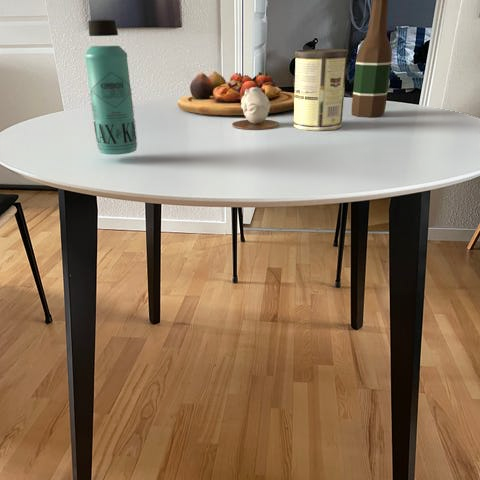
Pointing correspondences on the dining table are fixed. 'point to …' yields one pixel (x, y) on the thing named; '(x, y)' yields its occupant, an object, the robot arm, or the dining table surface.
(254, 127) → the coaster
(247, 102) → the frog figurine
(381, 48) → the beer bottle
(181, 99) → the wooden plate
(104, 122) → the beverage bottle
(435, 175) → the dining table surface
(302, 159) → the dining table surface
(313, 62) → the coffee can
